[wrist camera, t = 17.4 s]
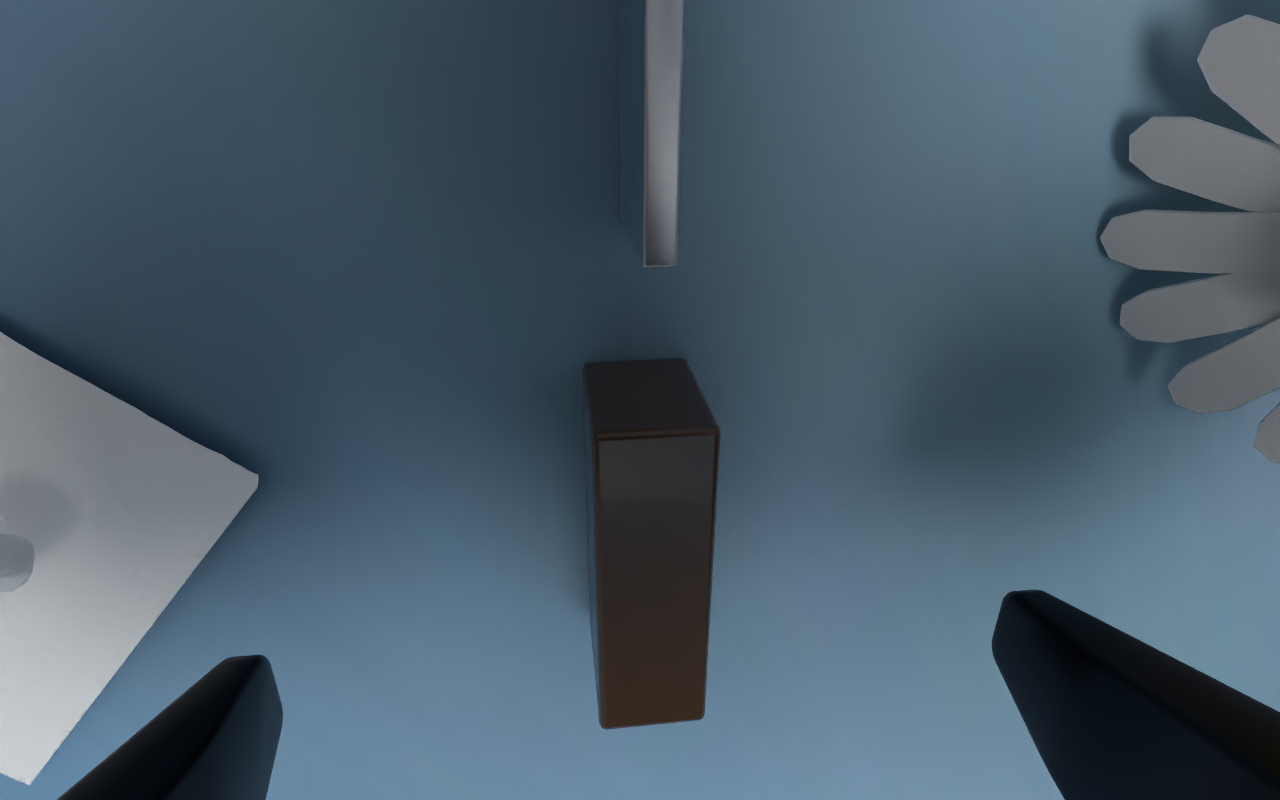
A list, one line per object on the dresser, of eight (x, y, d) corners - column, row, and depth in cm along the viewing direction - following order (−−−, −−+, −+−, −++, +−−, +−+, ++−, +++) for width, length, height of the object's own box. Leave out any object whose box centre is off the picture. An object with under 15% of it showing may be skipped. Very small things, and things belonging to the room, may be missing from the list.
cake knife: (678, 614, 13) (705, 722, 11) (590, 620, 13) (600, 733, 11) (715, -483, 7) (788, -714, 5) (553, -499, 7) (558, -743, 5)
